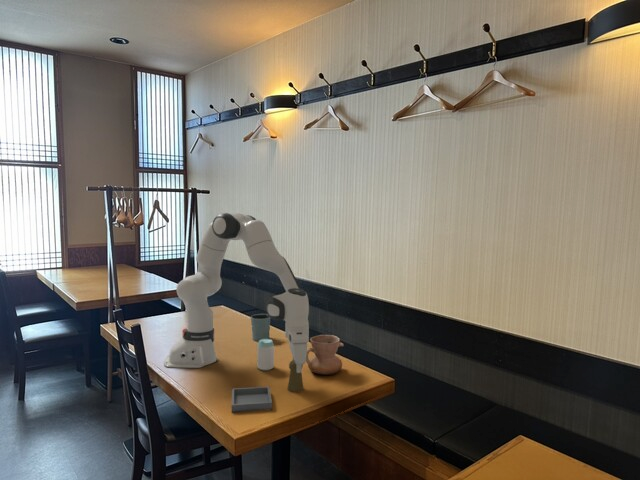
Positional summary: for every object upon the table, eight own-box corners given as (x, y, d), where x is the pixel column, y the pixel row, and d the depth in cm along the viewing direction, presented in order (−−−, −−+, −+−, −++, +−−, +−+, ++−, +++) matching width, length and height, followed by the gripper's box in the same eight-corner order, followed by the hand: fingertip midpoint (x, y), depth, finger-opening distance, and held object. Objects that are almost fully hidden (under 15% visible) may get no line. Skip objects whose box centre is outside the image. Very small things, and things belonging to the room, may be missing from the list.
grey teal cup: (274, 337, 233) (274, 315, 232) (263, 343, 225) (263, 319, 224) (258, 334, 238) (258, 312, 237) (246, 339, 229) (246, 317, 228)
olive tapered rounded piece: (287, 385, 173) (287, 358, 172) (303, 385, 174) (303, 358, 173) (287, 392, 167) (288, 363, 166) (303, 392, 168) (304, 363, 167)
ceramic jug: (335, 362, 199) (335, 331, 198) (350, 374, 186) (350, 340, 185) (297, 369, 192) (297, 336, 190) (311, 381, 178) (311, 346, 177)
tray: (231, 412, 151) (231, 405, 150) (232, 395, 164) (232, 388, 164) (271, 409, 153) (272, 402, 153) (269, 392, 166) (269, 386, 166)
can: (271, 371, 187) (271, 343, 186) (254, 370, 188) (255, 342, 187) (275, 365, 194) (275, 338, 193) (260, 364, 195) (260, 337, 194)
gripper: (285, 325, 178) (285, 358, 179) (292, 340, 158) (292, 378, 159) (301, 324, 179) (301, 357, 181) (309, 339, 159) (309, 377, 161)
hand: (297, 367), depth 170 cm, fingers open, 8 cm apart
